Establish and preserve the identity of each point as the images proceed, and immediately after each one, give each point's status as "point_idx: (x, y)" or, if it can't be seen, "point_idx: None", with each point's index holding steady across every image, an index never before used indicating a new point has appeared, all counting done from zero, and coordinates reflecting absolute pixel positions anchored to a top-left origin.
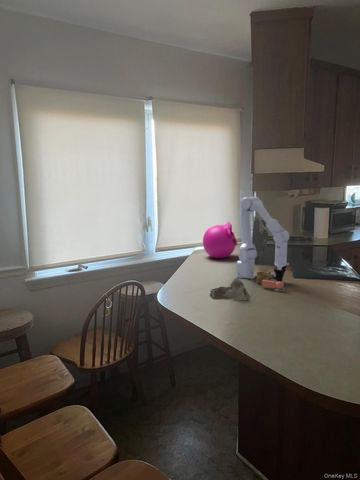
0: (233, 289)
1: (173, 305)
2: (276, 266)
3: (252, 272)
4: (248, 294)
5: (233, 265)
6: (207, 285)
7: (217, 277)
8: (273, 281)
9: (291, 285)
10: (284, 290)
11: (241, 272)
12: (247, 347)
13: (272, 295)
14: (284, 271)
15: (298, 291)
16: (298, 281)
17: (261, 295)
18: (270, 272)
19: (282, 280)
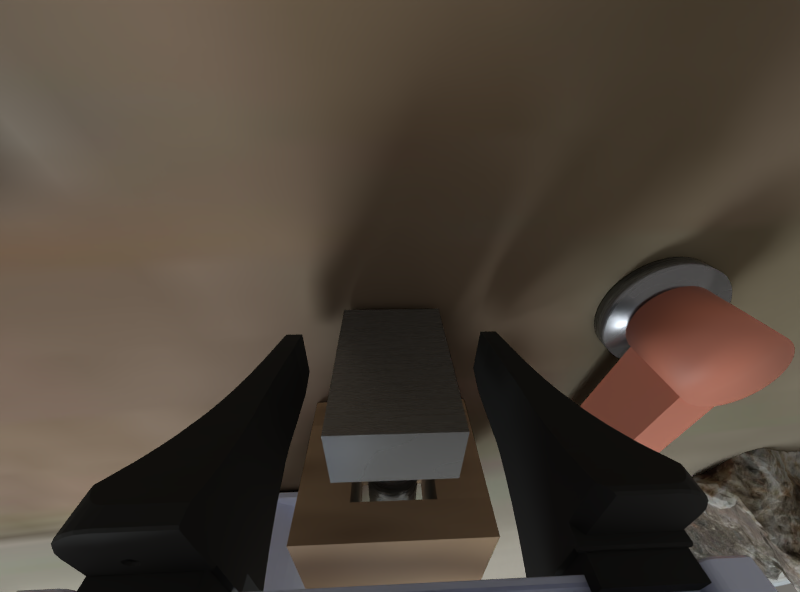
0: None
1: (784, 578)
2: (263, 579)
3: (280, 548)
4: (775, 466)
5: (38, 589)
6: (525, 576)
7: None
8: (658, 425)
9: (425, 199)
10: (714, 268)
11: None
12: None
13: (793, 343)
14: (687, 474)
15: (734, 80)
16: (134, 94)
17: (763, 403)
18: (321, 499)
19: (393, 331)
